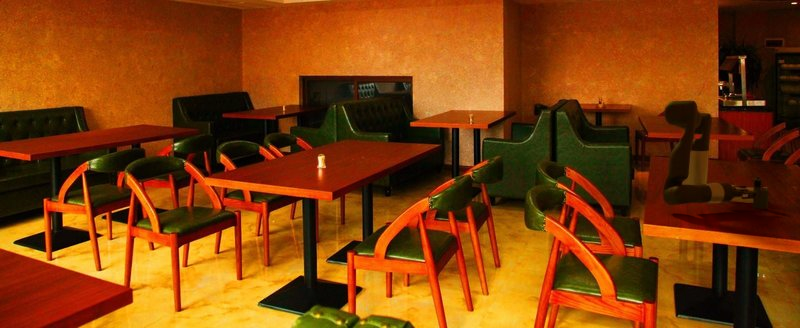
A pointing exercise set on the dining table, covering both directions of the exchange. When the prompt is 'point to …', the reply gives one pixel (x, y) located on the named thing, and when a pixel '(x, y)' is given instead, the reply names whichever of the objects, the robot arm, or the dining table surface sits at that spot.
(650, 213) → the dining table surface
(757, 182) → the vaping device
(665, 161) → the dining table surface
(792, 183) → the dining table surface
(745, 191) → the riser
